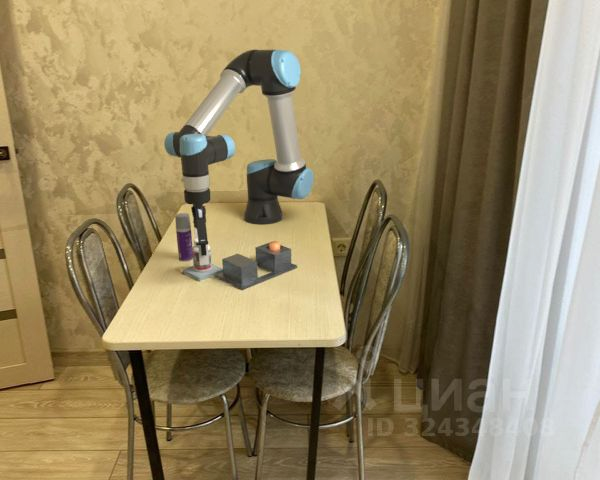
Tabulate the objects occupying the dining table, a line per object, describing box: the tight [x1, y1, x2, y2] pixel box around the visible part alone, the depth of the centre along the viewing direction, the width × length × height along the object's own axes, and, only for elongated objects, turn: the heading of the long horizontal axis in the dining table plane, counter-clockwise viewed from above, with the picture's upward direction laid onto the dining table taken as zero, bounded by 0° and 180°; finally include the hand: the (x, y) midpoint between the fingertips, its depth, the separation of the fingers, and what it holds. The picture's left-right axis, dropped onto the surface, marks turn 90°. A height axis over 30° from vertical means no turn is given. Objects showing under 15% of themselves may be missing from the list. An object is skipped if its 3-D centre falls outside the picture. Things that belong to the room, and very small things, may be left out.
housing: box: [214, 242, 298, 291], centre depth 166 cm, size 22×13×6 cm, turn 135°
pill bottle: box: [192, 238, 213, 272], centre depth 166 cm, size 5×5×10 cm
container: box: [174, 212, 193, 262], centre depth 175 cm, size 5×5×15 cm
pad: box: [182, 263, 223, 282], centre depth 168 cm, size 9×9×1 cm
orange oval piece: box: [268, 240, 281, 251], centre depth 171 cm, size 3×3×5 cm
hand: (202, 256), depth 166 cm, fingers open, 13 cm apart
